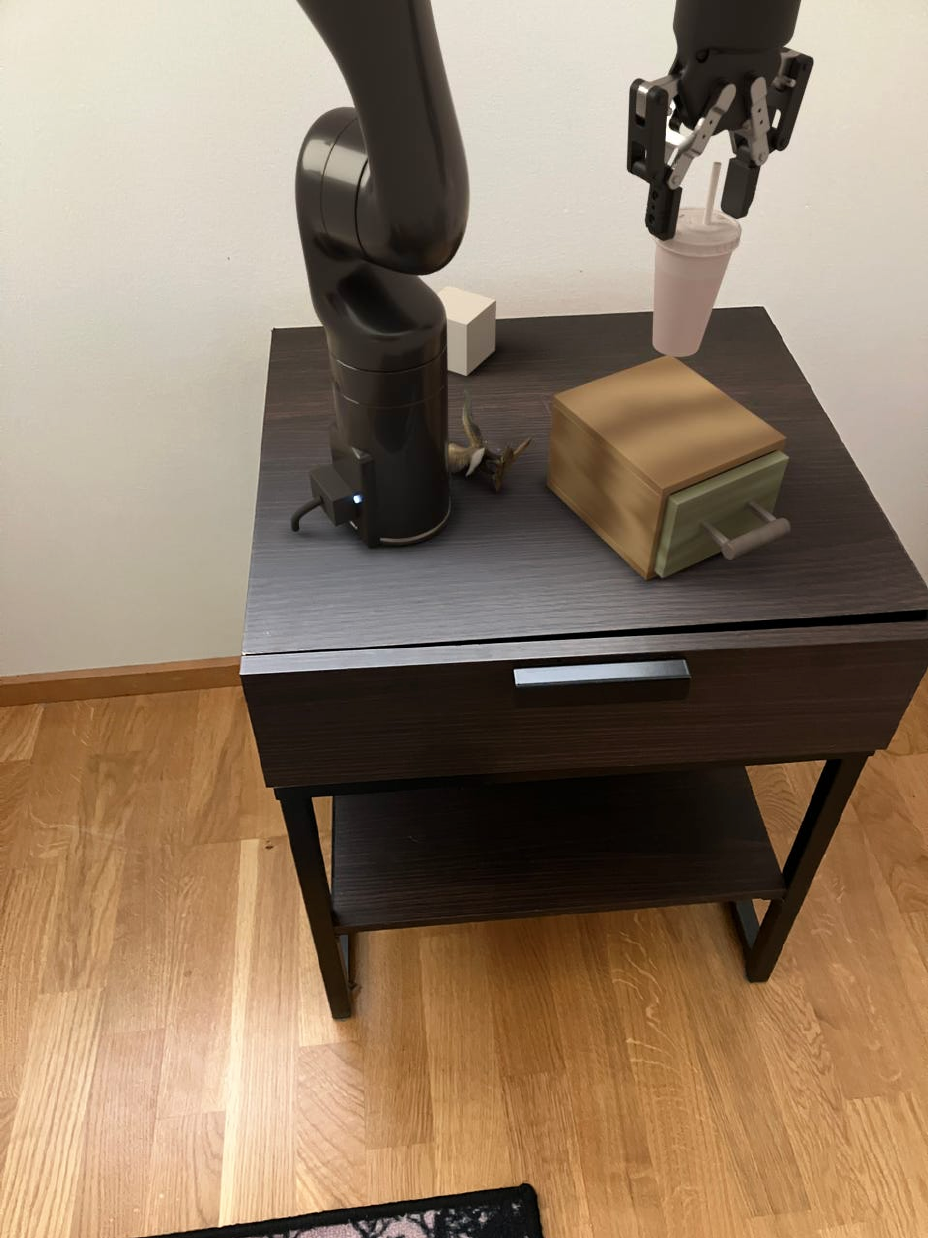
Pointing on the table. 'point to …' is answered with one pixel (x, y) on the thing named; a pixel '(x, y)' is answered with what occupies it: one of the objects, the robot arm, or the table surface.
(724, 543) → the drawer
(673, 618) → the table surface
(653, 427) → the cabinet
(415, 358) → the robot arm
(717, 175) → the smoothie
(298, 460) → the table surface
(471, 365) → the white cube
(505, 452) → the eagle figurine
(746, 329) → the table surface
